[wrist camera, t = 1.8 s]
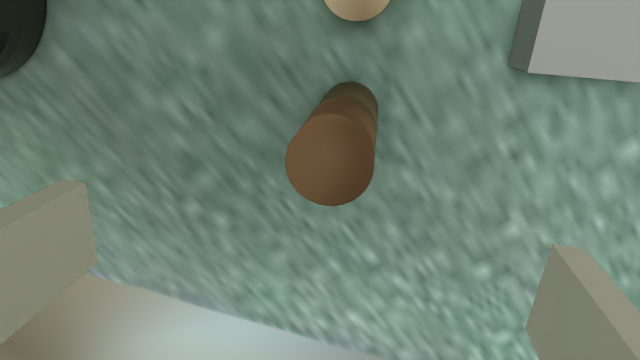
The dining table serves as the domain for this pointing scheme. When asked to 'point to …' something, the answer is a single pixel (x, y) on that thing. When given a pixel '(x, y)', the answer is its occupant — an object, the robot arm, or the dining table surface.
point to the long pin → (335, 147)
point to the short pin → (357, 8)
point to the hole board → (579, 39)
